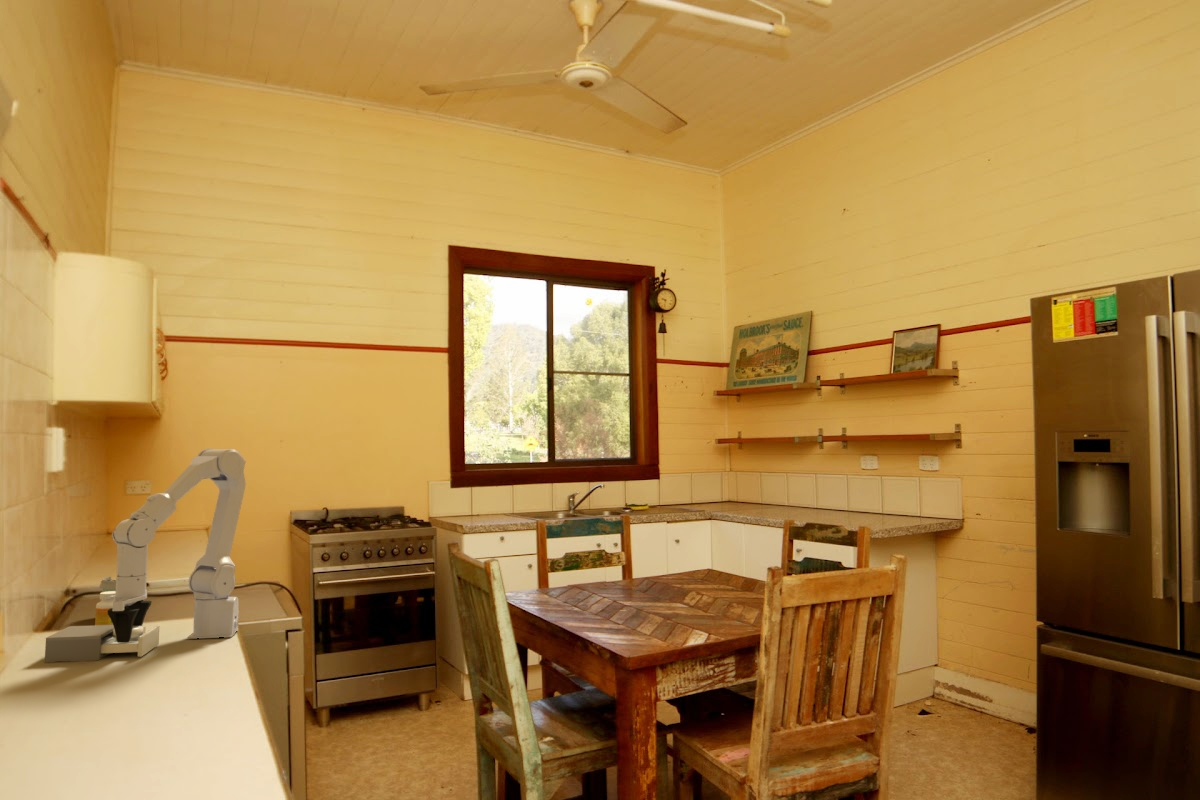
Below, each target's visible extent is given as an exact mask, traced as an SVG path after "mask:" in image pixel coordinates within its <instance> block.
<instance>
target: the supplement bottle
mask: <svg viewBox="0 0 1200 800" xmlns="http://www.w3.org/2000/svg"><path fill="white" fill-rule="evenodd" d="M115 594H116V591H108V592H103V591H102V592H100V593H99V600H100V601H99V602H97V603H96V605H95V617H94V618H95V620H94V621H95V623H94V625H113V623H112V620H111V619H110V617H109V615H108V610H109V609H111V608H113V602H114V600H109V597H110V596H113V595H115Z"/></svg>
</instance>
